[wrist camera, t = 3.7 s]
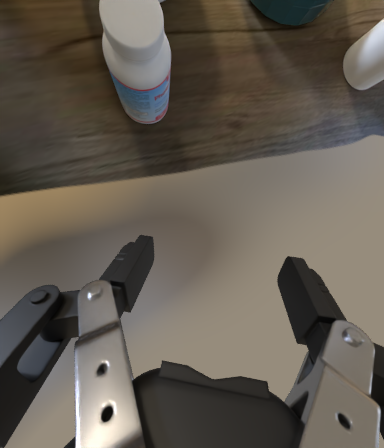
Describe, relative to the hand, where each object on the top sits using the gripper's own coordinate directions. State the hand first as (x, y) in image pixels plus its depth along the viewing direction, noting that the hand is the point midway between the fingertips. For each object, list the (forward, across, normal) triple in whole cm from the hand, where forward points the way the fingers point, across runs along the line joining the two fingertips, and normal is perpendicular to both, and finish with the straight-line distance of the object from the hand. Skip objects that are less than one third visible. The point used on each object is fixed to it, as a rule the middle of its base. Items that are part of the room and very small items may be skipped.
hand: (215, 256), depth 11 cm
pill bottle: (+20, +11, -8) cm, 24 cm away
